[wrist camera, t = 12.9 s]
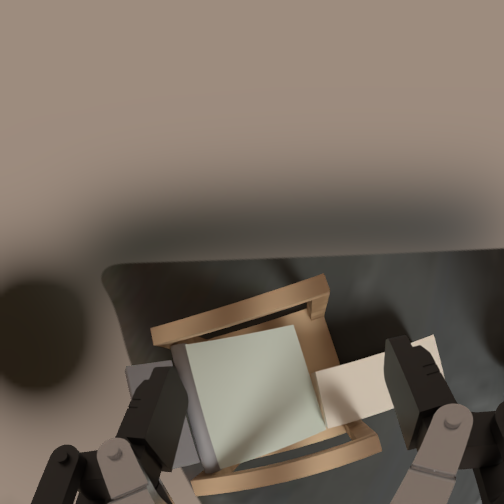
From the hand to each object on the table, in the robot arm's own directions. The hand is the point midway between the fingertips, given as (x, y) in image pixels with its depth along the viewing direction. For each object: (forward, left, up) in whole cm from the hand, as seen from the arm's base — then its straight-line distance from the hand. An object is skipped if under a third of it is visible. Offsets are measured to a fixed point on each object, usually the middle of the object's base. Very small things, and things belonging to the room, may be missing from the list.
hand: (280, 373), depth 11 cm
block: (-1, +3, -14) cm, 14 cm away
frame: (+2, +1, -17) cm, 17 cm away
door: (+5, +1, -11) cm, 12 cm away
